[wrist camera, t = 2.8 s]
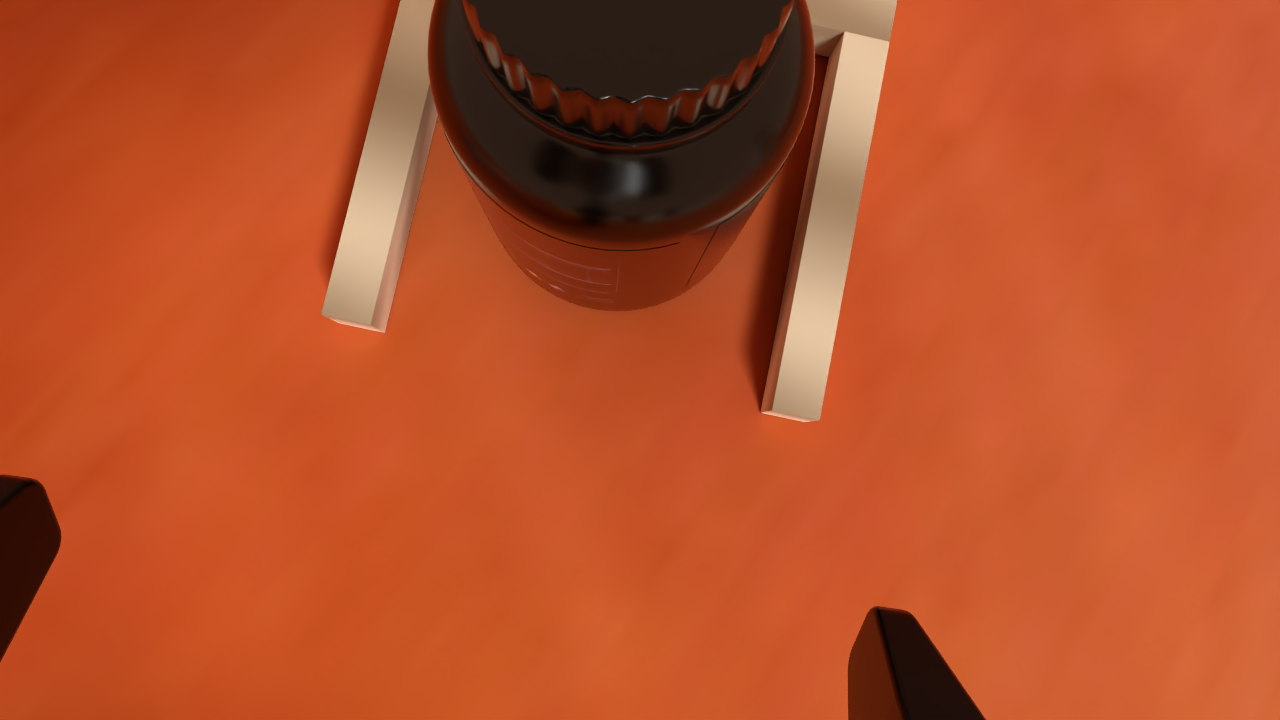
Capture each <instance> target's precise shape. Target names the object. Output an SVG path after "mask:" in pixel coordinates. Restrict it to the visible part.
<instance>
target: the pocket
mask: <svg viewBox="0 0 1280 720" xmlns="http://www.w3.org/2000/svg"><path fill="white" fill-rule="evenodd" d="M434 3H435V0H400V4H399V8H398V12H397V16H396V20H395V24H394V28H393V32H392V36H391V40H390V44H389V48H388V52H387V56H386V60H385V64H384V68H383V72H382V76H381V80H380V84H379V88H378V92H377V95H376V99H375V103H374V107H373V111H372V115H371V119H370V123H369V127H368V131H367V135H366V139H365V143H364V147H363V151H362V155H361V159H360V163H359V167H358V171H357V175H356V179H355V183H354V187H353V191H352V195H351V199H350V202H349V206H348V210H347V214H346V218H345V222H344V226H343V230H342V234H341V238H340V242H339V246H338V250H337V254H336V258H335V262H334V266H333V270H332V274H331V278H330V282H329V286H328V290H327V294H326V298H325V302H324V306H323V310H322V313H321V314H322V315H324V316H326V317H328V318H330V319H332V320H334V321H336V322H338V323H341V324H345V325H350V326H355V327H359V328H364V329H369V330H373V331H378V332H383V333H385V330H386V326H387V322H388V318H389V314H390V310H391V305H392V301H393V297H394V293H395V289H396V285H397V281H398V277H399V273H400V269H401V264H402V260H403V256H404V252H405V248H406V244H407V240H408V236H409V232H410V227H411V223H412V219H413V215H414V211H415V207H416V203H417V199H418V195H419V190H420V186H421V182H422V178H423V174H424V170H425V166H426V162H427V158H428V153H429V149H430V145H431V141H432V137H433V133H434V129H435V125H436V121H437V117H438V114H437V111H436V107H435V104H434V100H433V96H432V92H431V87H430V80H429V73H428V55H427V51H428V34H429V27H430V21H431V14H432V10H433V7H434ZM806 3H807V6H808V9H809V13H810V17H811V22H812V28H813V34H814V45H815V54H817V55H821V56H826V57H829V59H828V64H827V70H826V75H825V80H824V85H823V90H822V96H821V101H820V106H819V111H818V116H817V121H816V127H815V132H814V137H813V142H812V147H811V153H810V158H809V163H808V168H807V173H806V179H805V184H804V189H803V194H802V199H801V205H800V210H799V215H798V220H797V225H796V230H795V236H794V241H793V246H792V251H791V256H790V262H789V267H788V272H787V277H786V282H785V288H784V293H783V298H782V303H781V308H780V313H779V319H778V324H777V329H776V334H775V339H774V345H773V350H772V355H771V360H770V365H769V371H768V376H767V381H766V386H765V391H764V396H763V402H762V407H761V412H760V413H764V414H769V415H773V416H778V417H783V418H788V419H792V420H797V421H802V422H810V421H818V420H820V415H821V410H822V404H823V399H824V393H825V388H826V382H827V377H828V372H829V366H830V361H831V355H832V350H833V345H834V339H835V334H836V328H837V323H838V318H839V312H840V307H841V301H842V296H843V291H844V285H845V280H846V274H847V269H848V264H849V258H850V253H851V247H852V242H853V237H854V231H855V226H856V220H857V215H858V209H859V204H860V199H861V193H862V188H863V182H864V177H865V172H866V166H867V161H868V155H869V150H870V145H871V139H872V134H873V128H874V123H875V118H876V112H877V107H878V101H879V96H880V91H881V85H882V80H883V74H884V69H885V64H886V58H887V53H888V47H889V42H890V36H891V31H892V26H893V20H894V15H895V9H896V4H897V0H806Z"/></svg>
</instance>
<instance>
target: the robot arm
mask: <svg viewBox="0 0 1280 720" xmlns="http://www.w3.org/2000/svg"><path fill="white" fill-rule="evenodd" d="M60 543H61V530H60V526H59V524H58V521H57V519H56V516H55V513H54V511H53V508H52V506H51V503H50V501H49V498H48V495H47V493H46V490H45V488H44V486H43V485H42V484H41V483H40V482H39V481H37V480H35V479H32V478H25V477H19V476H12V475H0V662H1V660H2V658H3V656H4V654H5V652H6V650H7V648H8V647H9V645H10V643H11V641H12V639H13V637H14V635H15V633H16V631H17V629H18V628H19V626H20V624H21V622H22V620H23V618H24V616H25V614H26V612H27V610H28V608H29V607H30V605H31V603H32V601H33V599H34V597H35V595H36V593H37V591H38V589H39V588H40V586H41V584H42V582H43V580H44V578H45V576H46V574H47V572H48V570H49V569H50V567H51V565H52V563H53V561H54V559H55V557H56V555H57V553H58V550H59V547H60ZM848 720H986V719H985V718H984V716H983V715H982V713H981V712H980V710H979V709H978V708H977V706H976V705H975V703H974V702H973V700H972V699H971V697H970V696H969V695H968V693H967V692H966V690H965V689H964V687H963V686H962V684H961V683H960V682H959V680H958V679H957V677H956V676H955V674H954V673H953V671H952V670H951V669H950V667H949V666H948V664H947V663H946V661H945V660H944V659H943V657H942V656H941V654H940V653H939V651H938V650H937V648H936V647H935V646H934V644H933V643H932V641H931V640H930V638H929V637H928V635H927V634H926V633H925V631H924V630H923V628H922V627H921V625H920V624H919V622H918V621H917V620H916V618H915V617H914V616H913V615H912V614H911V613H909V612H908V611H905V610H900V609H893V608H887V607H880V606H875V607H873V608H871V609H870V610H869V612H868V613H867V615H866V618H865V620H864V622H863V625H862V627H861V629H860V631H859V634H858V636H857V638H856V641H855V643H854V645H853V647H852V650H851V653H850V657H849V663H848Z"/></svg>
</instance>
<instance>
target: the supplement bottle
mask: <svg viewBox="0 0 1280 720" xmlns="http://www.w3.org/2000/svg"><path fill="white" fill-rule="evenodd" d="M427 55H428V73H429V80H430V87H431V92H432V96H433V100H434V104H435V107H436V111H437V114H438V117H439V119H440V122H441V125H442V127H443V130H444V133H445V136H446V138H447V140H448V142H449V144H450V146H451V148H452V150H453V152H454V154H455V156H456V158H457V160H458V162H459V164H460V166H461V168H462V170H463V171H464V173H465V175H466V177H467V179H468V181H469V183H470V185H471V187H472V189H473V191H474V193H475V195H476V196H477V198H478V200H479V202H480V204H481V206H482V208H483V210H484V212H485V214H486V216H487V218H488V219H489V221H490V223H491V225H492V227H493V229H494V231H495V233H496V235H497V237H498V238H499V240H500V241H501V243H502V245H503V246H504V248H505V249H506V251H507V253H508V254H509V255H510V257H511V258H512V259H513V261H514V262H515V263H516V264H517V265H518V267H519V268H520V269H521V270H522V271H523V272H524V273H525V274H526V275H527V276H529V277H530V278H531V279H532V280H533V281H534V282H535V283H537V284H538V285H539V286H541V287H542V288H544V289H545V290H547V291H548V292H550V293H552V294H553V295H555V296H557V297H559V298H561V299H564V300H566V301H568V302H571V303H574V304H576V305H579V306H583V307H587V308H591V309H597V310H605V311H629V310H637V309H643V308H647V307H651V306H655V305H658V304H661V303H664V302H666V301H669V300H671V299H673V298H675V297H677V296H679V295H681V294H682V293H684V292H686V291H687V290H689V289H691V288H692V287H693V286H695V285H696V284H697V283H699V282H700V281H701V280H702V279H703V278H704V277H706V276H707V275H708V274H709V273H710V272H711V271H712V270H713V269H714V267H715V266H716V265H717V264H718V263H719V262H720V260H721V259H722V258H723V256H724V255H725V254H726V252H727V251H728V250H729V248H730V247H731V245H732V244H733V242H734V241H735V239H736V238H737V236H738V235H739V233H740V232H741V230H742V229H743V227H744V225H745V224H746V222H747V221H748V219H749V218H750V216H751V215H752V213H753V212H754V210H755V208H756V207H757V205H758V204H759V202H760V201H761V199H762V198H763V196H764V195H765V193H766V191H767V190H768V188H769V187H770V185H771V184H772V182H773V181H774V179H775V177H776V176H777V174H778V173H779V171H780V170H781V168H782V166H783V165H784V163H785V161H786V159H787V158H788V156H789V154H790V152H791V151H792V149H793V147H794V144H795V142H796V140H797V138H798V135H799V133H800V131H801V129H802V126H803V123H804V120H805V117H806V114H807V111H808V108H809V104H810V100H811V95H812V90H813V83H814V74H815V45H814V34H813V28H812V22H811V17H810V13H809V9H808V6H807V3H806V0H435V3H434V7H433V10H432V14H431V21H430V27H429V34H428V51H427Z"/></svg>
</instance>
